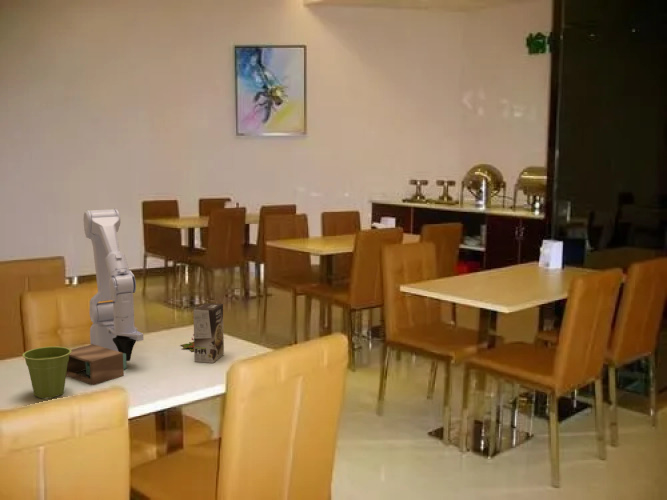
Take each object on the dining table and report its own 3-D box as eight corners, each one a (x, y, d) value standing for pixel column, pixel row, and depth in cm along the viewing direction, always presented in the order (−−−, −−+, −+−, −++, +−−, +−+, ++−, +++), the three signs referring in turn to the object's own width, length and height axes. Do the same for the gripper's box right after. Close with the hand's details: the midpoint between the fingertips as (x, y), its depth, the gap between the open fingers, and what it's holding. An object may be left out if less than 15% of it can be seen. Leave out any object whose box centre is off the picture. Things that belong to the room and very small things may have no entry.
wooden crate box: (63, 374, 208) (61, 352, 207) (93, 366, 215) (92, 344, 214) (93, 385, 199) (91, 361, 198) (123, 375, 207) (122, 352, 206)
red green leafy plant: (172, 346, 237) (172, 332, 236) (207, 340, 244) (206, 327, 243) (188, 355, 227) (188, 341, 227) (223, 349, 234) (223, 335, 233)
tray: (86, 374, 208) (85, 358, 207) (115, 365, 216) (115, 350, 215) (96, 377, 205) (96, 362, 204) (126, 368, 213) (125, 353, 212)
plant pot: (78, 396, 191) (76, 354, 189) (30, 405, 184) (27, 362, 183) (67, 383, 200) (65, 343, 199) (21, 391, 194) (18, 350, 192)
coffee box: (214, 363, 218) (213, 310, 216) (193, 362, 220) (192, 309, 217) (224, 354, 227) (223, 303, 225) (205, 353, 228) (203, 302, 226)
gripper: (151, 316, 213) (152, 362, 215) (119, 309, 221) (121, 353, 223) (131, 321, 207) (133, 368, 209) (99, 313, 216) (101, 358, 218)
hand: (125, 360), depth 216 cm, fingers closed, pressing on tray
